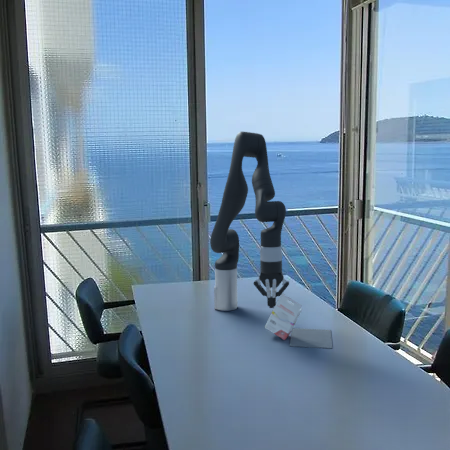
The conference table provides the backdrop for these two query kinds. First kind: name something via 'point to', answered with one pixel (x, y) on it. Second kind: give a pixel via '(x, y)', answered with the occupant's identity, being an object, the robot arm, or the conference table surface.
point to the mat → (311, 338)
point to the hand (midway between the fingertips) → (271, 307)
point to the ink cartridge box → (283, 316)
